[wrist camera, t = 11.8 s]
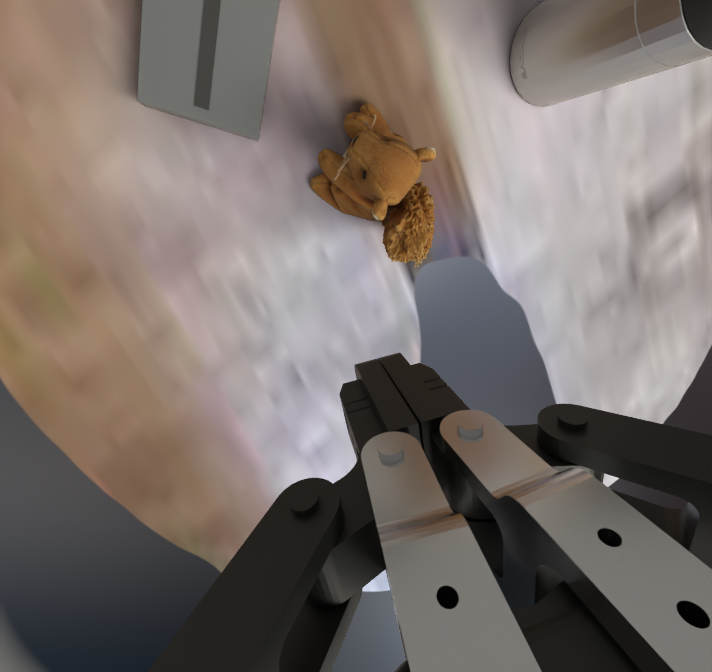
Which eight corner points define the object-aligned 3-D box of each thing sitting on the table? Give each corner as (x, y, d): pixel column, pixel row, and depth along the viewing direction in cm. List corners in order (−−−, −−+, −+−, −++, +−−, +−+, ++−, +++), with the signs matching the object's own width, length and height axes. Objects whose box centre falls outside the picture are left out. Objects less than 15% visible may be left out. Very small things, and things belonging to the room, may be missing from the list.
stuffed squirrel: (362, 95, 36) (409, 47, 24) (444, 203, 41) (515, 207, 29) (294, 171, 37) (306, 162, 25) (383, 266, 43) (428, 294, 31)
